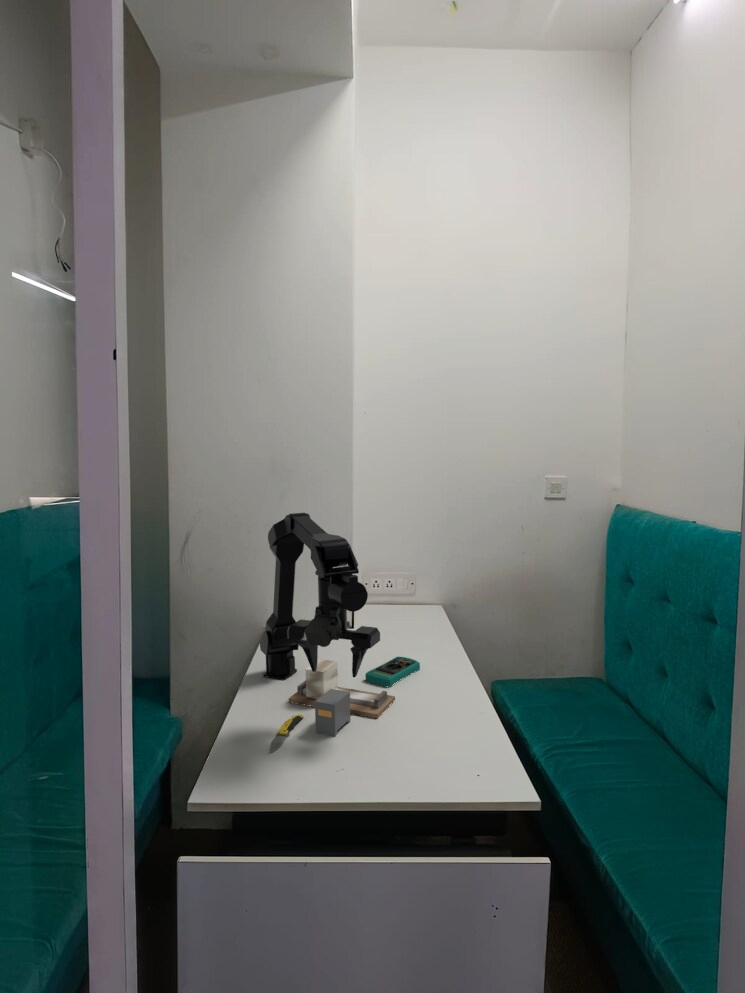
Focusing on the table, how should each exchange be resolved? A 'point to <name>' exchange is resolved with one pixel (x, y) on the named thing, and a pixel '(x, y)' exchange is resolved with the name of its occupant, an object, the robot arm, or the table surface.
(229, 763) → the table surface
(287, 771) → the table surface
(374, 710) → the din panel
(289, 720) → the utility knife
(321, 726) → the block
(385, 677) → the digital multimeter
